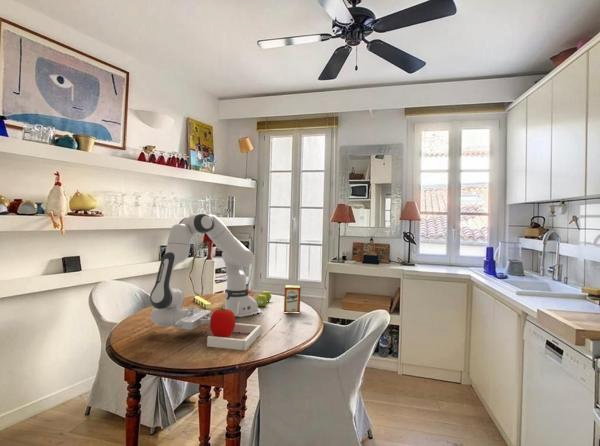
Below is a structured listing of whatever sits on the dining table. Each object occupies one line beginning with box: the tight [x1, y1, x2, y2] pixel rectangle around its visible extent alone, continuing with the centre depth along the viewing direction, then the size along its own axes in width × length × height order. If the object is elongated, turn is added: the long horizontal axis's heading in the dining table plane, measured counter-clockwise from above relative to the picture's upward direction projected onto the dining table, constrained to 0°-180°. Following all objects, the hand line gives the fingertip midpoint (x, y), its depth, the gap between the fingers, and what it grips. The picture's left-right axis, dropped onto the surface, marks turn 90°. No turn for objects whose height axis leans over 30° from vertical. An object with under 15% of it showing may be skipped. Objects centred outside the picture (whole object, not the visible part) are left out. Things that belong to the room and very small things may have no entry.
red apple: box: [209, 307, 237, 338], centre depth 153 cm, size 13×11×14 cm
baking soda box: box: [283, 284, 301, 313], centre depth 202 cm, size 10×6×16 cm
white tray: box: [206, 322, 262, 351], centre depth 152 cm, size 18×22×4 cm
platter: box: [193, 295, 212, 310], centre depth 211 cm, size 32×32×3 cm
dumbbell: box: [254, 290, 272, 307], centre depth 220 cm, size 16×8×7 cm, turn 172°
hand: (211, 320), depth 154 cm, fingers closed, pressing on red apple
